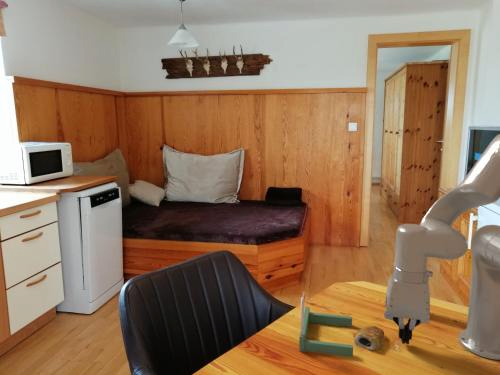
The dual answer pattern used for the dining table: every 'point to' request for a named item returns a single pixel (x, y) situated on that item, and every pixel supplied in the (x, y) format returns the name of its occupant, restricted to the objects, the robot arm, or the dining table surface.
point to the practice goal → (319, 345)
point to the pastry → (370, 337)
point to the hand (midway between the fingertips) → (404, 340)
